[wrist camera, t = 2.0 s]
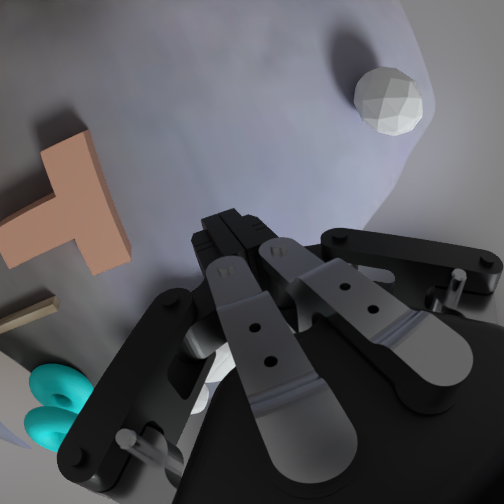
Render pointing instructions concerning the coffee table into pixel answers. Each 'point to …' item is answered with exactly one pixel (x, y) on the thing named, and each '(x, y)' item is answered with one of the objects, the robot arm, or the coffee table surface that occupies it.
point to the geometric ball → (388, 101)
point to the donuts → (55, 403)
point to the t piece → (69, 212)
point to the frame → (29, 314)
